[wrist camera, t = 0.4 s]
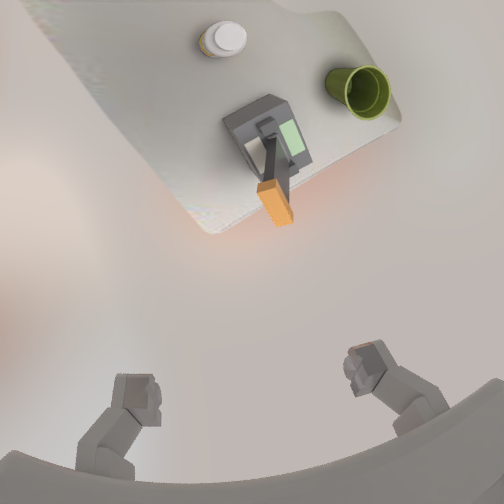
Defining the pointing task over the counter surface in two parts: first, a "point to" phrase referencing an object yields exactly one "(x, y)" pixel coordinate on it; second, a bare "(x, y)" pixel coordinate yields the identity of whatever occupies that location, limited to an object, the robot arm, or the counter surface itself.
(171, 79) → the counter surface
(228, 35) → the supplement bottle
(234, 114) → the box
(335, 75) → the plant pot
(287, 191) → the lever
